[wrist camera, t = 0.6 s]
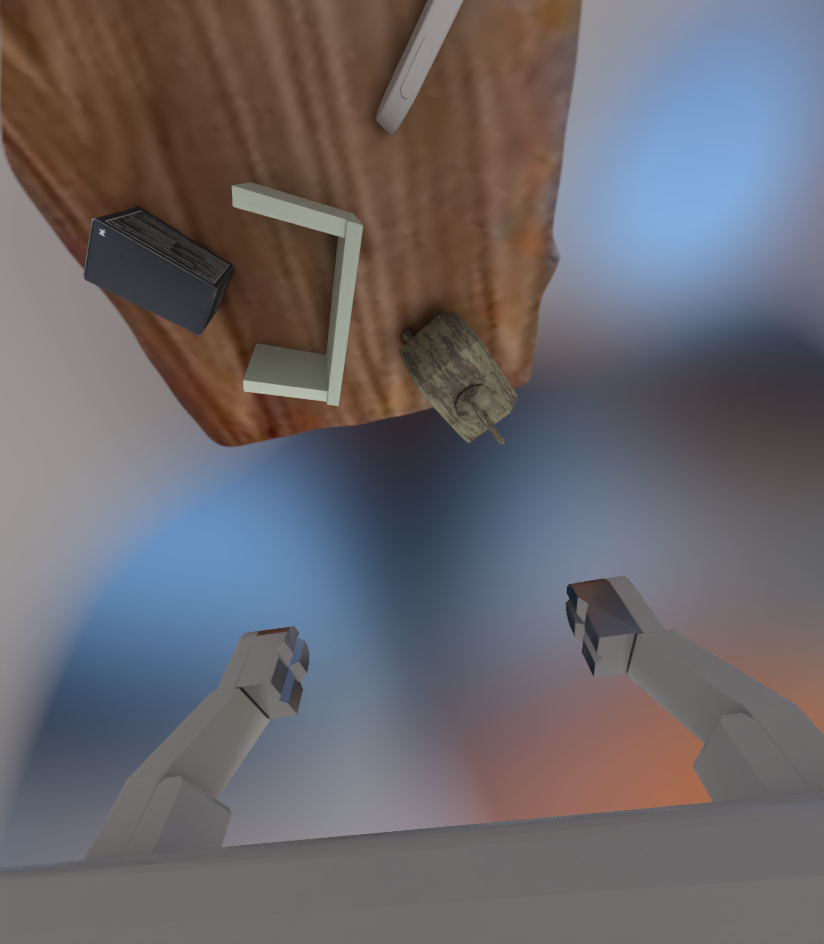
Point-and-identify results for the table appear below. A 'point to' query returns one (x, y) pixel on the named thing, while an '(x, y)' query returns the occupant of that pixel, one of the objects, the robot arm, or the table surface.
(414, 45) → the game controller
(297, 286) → the table surface
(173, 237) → the small box
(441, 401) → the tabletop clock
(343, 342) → the rack
